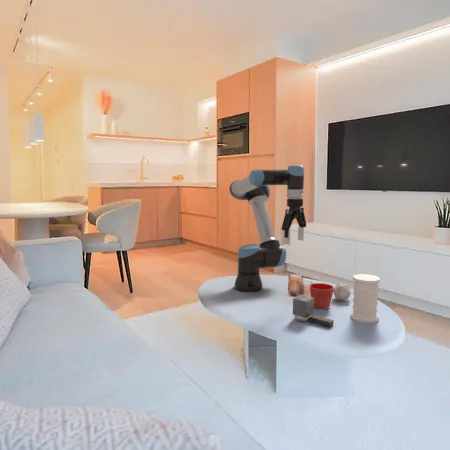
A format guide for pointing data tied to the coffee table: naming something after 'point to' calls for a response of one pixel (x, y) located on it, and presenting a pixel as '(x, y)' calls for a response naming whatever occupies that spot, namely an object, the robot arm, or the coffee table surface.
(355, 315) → the decorative container
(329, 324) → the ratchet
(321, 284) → the flower pot
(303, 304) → the grey wood-grain cube
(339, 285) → the die
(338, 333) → the coffee table surface
